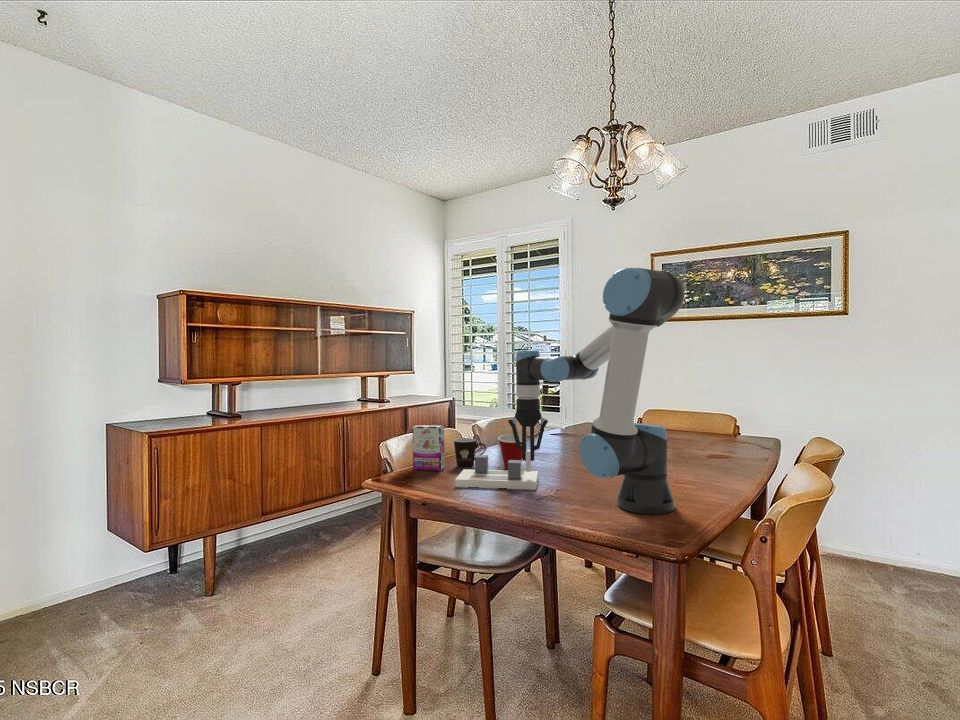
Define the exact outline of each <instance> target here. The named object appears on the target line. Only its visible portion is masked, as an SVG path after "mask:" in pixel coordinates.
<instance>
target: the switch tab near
mask: <svg viewBox="0 0 960 720" xmlns="http://www.w3.org/2000/svg"><path fill="white" fill-rule="evenodd" d="M521 471H522V462H521V460H509V461H508V478H517V479H520V478H521Z"/></svg>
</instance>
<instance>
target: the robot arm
mask: <svg viewBox="0 0 960 720" xmlns="http://www.w3.org/2000/svg"><path fill="white" fill-rule="evenodd" d="M685 294H686V293H685V288H684V285H683V283H682V281H681V280H680V278H678V276H676V275H675V274H673V273H671V272H669V271H665V270H655V269H649V268H642V267H624V268H621V269H619V270H617V271H615V272H614V273H613V274H612V275H610V277H609V278H608V279H607V281H606V283H605V285H604V288H603V291H602V302H603V304H604V305H605V306H604V308H605V309H606V310H607V312H609V316H608V321H609V323H610V324H611V325H610V326H609V327H607V328H606V329H605V330H604V331H602V333H601V334H599V335H597V336H596V338H594V339H593V340H592V341H591V342H590V343H588V344H587V345H586V346H585V347H583V348H582V349H581V350H580V351H578V352H577V353H576V354H575V355H561V356H560V355H551V356H541V355H540V351H539V350H537V349H536V350H535V349H529V350H526V349H525V350H524V349H520V350H517V352H516V357H515V358H516V359H515V375H516V376H515V377H516V379H515V380H516V381H515V382H516V385H515V387H516V388H515V389H516V390H515V391H516V393H515V394H516V395H515V396H516V405H515V407H516V412H515V414H514V416H513V417H512V418H509V419H508V421H507V422H508V424H509V425H510V427H511V429H512V434H513V435H514V439H515V443H516V447H517V449H521V450H522V461H523V462H525V471H526V472H531V471H532V462H534V461H535V451H537V450H540V447H541V444H542V440H543V436H544V431H545V427H546V426H547V424H548V423H549V420H548V419H547V418H544V417H543V416H542V414H541V406H540V405H541V404H540V403H541V400H540V398H539V397H540V395H541V393H540V391H541V389H540V388H541V387H540V384H541V383H540V381H547V382H550V383H554V382H556V383H557V382H562V381H570V380H571V381H572V380H573V381H574V380H575V381H576V380H581V381H582V380H587V379H593V378H594V377H596V375H598V372H599V367H601V366H602V365H603V364H605V363H607V367H606V374H605V380H604V386H603V393H602V398H601V404H600V405H601V406H600V410H599V411H600V412H599V416H598V417H597V418H595V419H593V421H592V422H591V423H592V424H591V431H590V433H587V434H585V436H584V437H582V438H581V440H580V443H579V447H578V448H579V456H580V460H581V462H582V463H583V466H584V468H585V469H586V470H587V471H588V472H589V473H590V475H592V476H594V477H596V478H599V479H607V478H610V479H611V478H612V479H613V478H615V477H618V476H623V477H622V481H621V483H620V486H619V489H618V492H617V495H616V505H617V506H618V507H619V508H621V509H622V510H625V511H627V512H632V513H636V514H641V515H663V514H668V513H671V512H673V511H674V509H675V501H674V497H673V494H672V490H671V488H670V485H669V482H668V434H667V429H666V428H665V427H663V426H661V425H658V424H649V423H640V422H639V423H638V422H634V420H635V414H636V410H637V409H636V408H637V403H638V397H639V391H640V384H641V379H642V374H643V369H644V363H645V357H646V351H647V350H646V349H647V346H648V340H649V333H650V332H651V331H652V330H653V329H655V328H656V327H658V328H659V327H660V326H663V324H665V323H666V322H667V321H668V320H670V319H671V318H673V317H674V315H676V314H677V313H678V312H679V310H680V309H681V308H682V306H683V303H684V301H685ZM539 422H540V425H541V426H540V429H539V431H538V432H539V433H538V437H537V441H536V444H535V427H536V426H537V424H538V423H539ZM517 423H519V425H520V426H521V435H522V445H521V444H520V440H519V435H520V434H519V433H518V428H517V425H516V424H517ZM527 427H528V428H529V441H530V442H529V449H528V448H527V447H528V446H527V439H526V437H527Z"/></svg>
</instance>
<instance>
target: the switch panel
mask: <svg viewBox="0 0 960 720" xmlns="http://www.w3.org/2000/svg"><path fill="white" fill-rule="evenodd" d="M462 469H463V470H461V472H460V473H459V474H458V475H457V476H456V478H455V480H454V485H455V486H454V487H455V488H468V487H479V488H478V489H498V488H507V489H506V490H530V491H531V490H532V491H533V490H534V491H535V490H537V487H538V486H537V485H538V482H537V481H539V471H538V470H531V472H526V470H521V478H520V479H517V478H508V470H506V469H505V470H503V469H488V471H487V472H475V469H470V468H462Z"/></svg>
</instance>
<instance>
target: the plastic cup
mask: <svg viewBox="0 0 960 720" xmlns="http://www.w3.org/2000/svg"><path fill="white" fill-rule="evenodd" d="M518 435H519V440H520V444H521V445H522V434H518ZM527 438H528V436H526V440H527ZM497 440H498V442H499V445H500V450H501V455H502V460H503V465H504V469H505V470H506V469H507V470H508V461H509V460H521V463H522V461H523V459H522V450H521V449H517V447H516V443H515V439H514V435H513V433H512V434H504V435H503V434H502V435H500V436H498V437H497Z"/></svg>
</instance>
